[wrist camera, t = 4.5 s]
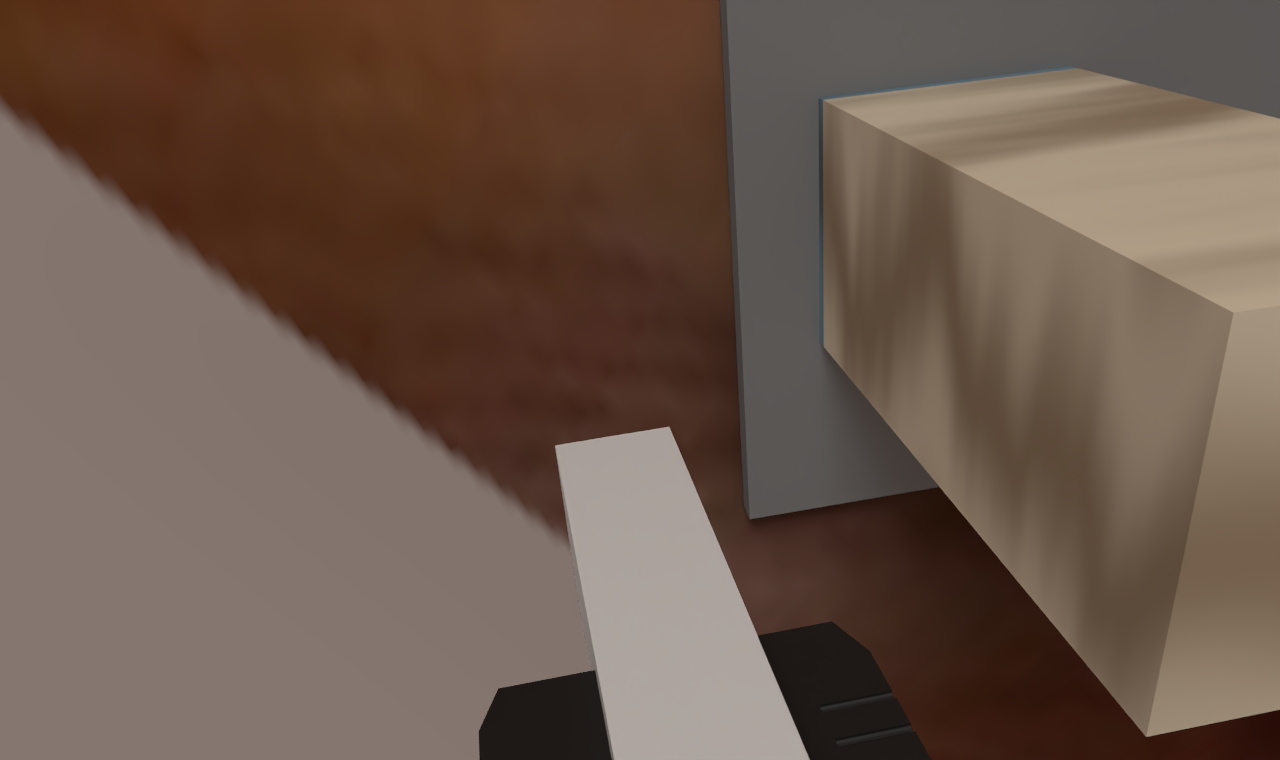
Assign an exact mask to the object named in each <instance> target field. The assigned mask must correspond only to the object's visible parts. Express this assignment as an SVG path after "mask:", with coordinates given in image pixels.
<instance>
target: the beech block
mask: <svg viewBox="0 0 1280 760" xmlns="http://www.w3.org/2000/svg"><path fill="white" fill-rule="evenodd" d="M819 297H820V343H821V344H822V345H823V346H824V348H825V349H826V350H827V351H828V353H829V354H830V355H831V356H832V357H833V359H834V360H835V361H836V362H837V363H838V365H839V366H840V367H841V368H842V369H843V371H844V372H845V373H846V374H847V376H848V377H849V378H850V379H851V380H852V382H853V383H854V384H855V385H856V386H857V388H858V389H859V390H860V391H861V392H862V394H863V395H864V396H865V397H866V398H867V400H868V401H869V402H870V403H871V405H872V406H873V407H874V408H875V409H876V411H877V412H878V413H879V414H880V415H881V417H882V418H883V419H884V420H885V421H886V423H887V424H888V425H889V426H890V428H891V429H892V430H893V431H894V432H895V434H896V435H897V436H898V437H899V438H900V440H901V441H902V442H903V443H904V444H905V446H906V447H907V448H908V449H909V450H910V452H911V453H912V454H913V455H914V457H915V458H916V459H917V460H918V461H919V463H920V464H921V465H922V466H923V467H924V469H925V470H926V471H927V472H928V473H929V475H930V476H931V477H932V478H933V480H934V481H935V482H936V483H937V484H938V486H939V487H940V488H941V489H942V490H943V492H944V493H945V494H946V495H947V496H948V498H949V499H950V500H951V501H952V502H953V504H954V505H955V506H956V507H957V509H958V510H959V511H960V512H961V513H962V515H963V516H964V517H965V518H966V519H967V521H968V522H969V523H970V524H971V525H972V527H973V528H974V529H975V530H976V531H977V533H978V534H979V535H980V536H981V538H982V539H983V540H984V541H985V542H986V544H987V545H988V546H989V547H990V548H991V550H992V551H993V552H994V553H995V554H996V556H997V557H998V558H999V559H1000V561H1001V562H1002V563H1003V564H1004V565H1005V567H1006V568H1007V569H1008V570H1009V571H1010V573H1011V574H1012V575H1013V576H1014V577H1015V579H1016V580H1017V581H1018V582H1019V583H1020V585H1021V586H1022V587H1023V588H1024V590H1025V591H1026V592H1027V593H1028V594H1029V596H1030V597H1031V598H1032V599H1033V600H1034V602H1035V603H1036V604H1037V605H1038V606H1039V608H1040V609H1041V610H1042V611H1043V613H1044V614H1045V615H1046V616H1047V617H1048V619H1049V620H1050V621H1051V622H1052V623H1053V625H1054V626H1055V627H1056V628H1057V629H1058V631H1059V632H1060V633H1061V634H1062V635H1063V637H1064V638H1065V639H1066V640H1067V642H1068V643H1069V644H1070V645H1071V646H1072V648H1073V649H1074V650H1075V651H1076V652H1077V654H1078V655H1079V656H1080V657H1081V658H1082V660H1083V661H1084V662H1085V663H1086V665H1087V666H1088V667H1089V668H1090V669H1091V671H1092V672H1093V673H1094V674H1095V675H1096V677H1097V678H1098V679H1099V680H1100V681H1101V683H1102V684H1103V685H1104V686H1105V687H1106V689H1107V690H1108V691H1109V692H1110V694H1111V695H1112V696H1113V697H1114V698H1115V700H1116V701H1117V702H1118V703H1119V704H1120V706H1121V707H1122V708H1123V709H1124V710H1125V712H1126V713H1127V714H1128V715H1129V717H1130V718H1131V719H1132V720H1133V721H1134V723H1135V724H1136V725H1137V726H1138V727H1139V729H1140V730H1141V731H1142V732H1143V733H1144V735H1145V736H1146V737H1148V736H1153V735H1158V734H1163V733H1168V732H1172V731H1177V730H1182V729H1187V728H1192V727H1197V726H1202V725H1207V724H1212V723H1217V722H1221V721H1226V720H1231V719H1236V718H1241V717H1246V716H1251V715H1256V714H1261V713H1265V712H1270V711H1275V710H1280V119H1279V118H1275V117H1271V116H1267V115H1263V114H1259V113H1255V112H1251V111H1247V110H1243V109H1239V108H1235V107H1231V106H1227V105H1223V104H1219V103H1215V102H1211V101H1207V100H1203V99H1199V98H1195V97H1191V96H1187V95H1183V94H1179V93H1175V92H1171V91H1167V90H1163V89H1159V88H1155V87H1151V86H1147V85H1143V84H1139V83H1135V82H1131V81H1127V80H1123V79H1119V78H1115V77H1111V76H1107V75H1103V74H1099V73H1095V72H1091V71H1087V70H1083V69H1079V68H1075V67H1071V66H1069V67H1061V68H1053V69H1045V70H1037V71H1029V72H1021V73H1013V74H1005V75H997V76H989V77H981V78H973V79H965V80H957V81H949V82H941V83H932V84H924V85H916V86H908V87H900V88H892V89H884V90H876V91H868V92H860V93H852V94H844V95H836V96H828V97H820V98H819Z"/></svg>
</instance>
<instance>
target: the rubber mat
mask: <svg viewBox="0 0 1280 760" xmlns="http://www.w3.org/2000/svg"><path fill="white" fill-rule="evenodd" d="M720 15H721V36H722V57H723V78H724V98H725V119H726V140H727V161H728V182H729V203H730V224H731V245H732V266H733V287H734V308H735V328H736V349H737V370H738V391H739V412H740V433H741V454H742V475H743V496H744V508H745V510H746V512H747V515H748V517H749V519H754V518H760V517H766V516H772V515H778V514H784V513H790V512H795V511H801V510H807V509H813V508H819V507H825V506H831V505H836V504H842V503H848V502H854V501H860V500H866V499H872V498H878V497H883V496H889V495H895V494H901V493H907V492H913V491H919V490H924V489H930V488H936V487H939V486H938V484H937V483H936V482H935V481H934V480H933V478H932V477H931V476H930V475H929V473H928V472H927V471H926V470H925V469H924V467H923V466H922V465H921V464H920V463H919V461H918V460H917V459H916V458H915V457H914V455H913V454H912V453H911V452H910V450H909V449H908V448H907V447H906V446H905V444H904V443H903V442H902V441H901V440H900V438H899V437H898V436H897V435H896V434H895V432H894V431H893V430H892V429H891V428H890V426H889V425H888V424H887V423H886V421H885V420H884V419H883V418H882V417H881V415H880V414H879V413H878V412H877V411H876V409H875V408H874V407H873V406H872V405H871V403H870V402H869V401H868V400H867V398H866V397H865V396H864V395H863V394H862V392H861V391H860V390H859V389H858V388H857V386H856V385H855V384H854V383H853V382H852V380H851V379H850V378H849V377H848V376H847V374H846V373H845V372H844V371H843V369H842V368H841V367H840V366H839V365H838V363H837V362H836V361H835V360H834V359H833V357H832V356H831V355H830V354H829V353H828V351H827V350H826V349H825V348H824V346H823V345H822V344H821V343H820V297H819V98H820V97H828V96H836V95H844V94H852V93H860V92H868V91H876V90H884V89H892V88H900V87H908V86H916V85H924V84H932V83H941V82H949V81H957V80H965V79H973V78H981V77H989V76H997V75H1005V74H1013V73H1021V72H1029V71H1037V70H1045V69H1053V68H1061V67H1069V66H1071V67H1075V68H1079V69H1083V70H1087V71H1091V72H1095V73H1099V74H1103V75H1107V76H1111V77H1115V78H1119V79H1123V80H1127V81H1131V82H1135V83H1139V84H1143V85H1147V86H1151V87H1155V88H1159V89H1163V90H1167V91H1171V92H1175V93H1179V94H1183V95H1187V96H1191V97H1195V98H1199V99H1203V100H1207V101H1211V102H1215V103H1219V104H1223V105H1227V106H1231V107H1235V108H1239V109H1243V110H1247V111H1251V112H1255V113H1259V114H1263V115H1267V116H1271V117H1275V118H1279V119H1280V0H720Z"/></svg>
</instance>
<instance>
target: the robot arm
mask: <svg viewBox="0 0 1280 760" xmlns="http://www.w3.org/2000/svg"><path fill="white" fill-rule="evenodd" d="M555 448H556V455H557V462H558V468H559V475H560V482H561V488H562V495H563V502H564V509H565V515H566V522H567V529H568V535H569V542H570V549H571V555H572V562H573V569H574V575H575V582H576V588H577V596H578V602H579V609H580V615H581V621H582V626H583V632H584V637H585V643H586V649H587V654H588V660H589V665H590V671H588V672H583V673H577V674H572V675H567V676H562V677H557V678H552V679H546V680H541V681H536V682H531V683H525V684H520V685H515V686H510V687H505V688H499V689H498V691H497V693H496V695H495V697H494V700H493V702H492V704H491V706H490V708H489V710H488V712H487V715H486V717H485V719H484V721H483V724H482V726H481V728H480V730H479V751H480V760H931V758H930V757H929V755H928V753H927V751H926V750H925V748H924V746H923V744H922V743H921V741H920V739H919V737H918V736H917V734H916V732H913V731H912V729H911V724H910V721H909V720H908V718H907V716H906V714H905V713H904V711H903V709H902V707H901V706H900V704H899V702H898V700H897V699H896V698H894V697H893V695H892V690H891V688H890V686H889V684H888V683H887V681H886V679H885V677H884V676H883V674H882V672H881V670H880V669H879V667H878V665H877V663H876V661H875V660H874V658H873V656H872V654H871V653H870V651H869V650H868V649H866V648H865V647H864V646H862V645H861V644H860V643H859V642H857V641H856V640H855V639H854V638H852V637H851V636H850V635H848V634H847V633H846V632H845V631H843V630H842V629H841V628H840V627H838V626H837V625H836V624H834V623H833V622H827V623H821V624H816V625H811V626H806V627H801V628H795V629H790V630H785V631H780V632H775V633H769V634H764V635H759V636H757V634H756V631H755V629H754V626H753V624H752V622H751V619H750V617H749V615H748V612H747V610H746V608H745V605H744V603H743V600H742V598H741V596H740V593H739V591H738V589H737V586H736V584H735V581H734V579H733V577H732V574H731V572H730V570H729V567H728V565H727V563H726V560H725V558H724V555H723V553H722V551H721V548H720V546H719V544H718V541H717V539H716V536H715V534H714V532H713V529H712V527H711V525H710V522H709V520H708V517H707V515H706V513H705V510H704V508H703V506H702V503H701V501H700V499H699V496H698V494H697V491H696V489H695V487H694V484H693V482H692V480H691V477H690V475H689V472H688V470H687V468H686V465H685V463H684V461H683V458H682V456H681V454H680V451H679V449H678V446H677V444H676V442H675V439H674V437H673V435H672V432H671V430H670V427H665V428H659V429H653V430H647V431H641V432H635V433H629V434H623V435H617V436H610V437H604V438H598V439H592V440H586V441H580V442H574V443H568V444H562V445H556V446H555Z"/></svg>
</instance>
